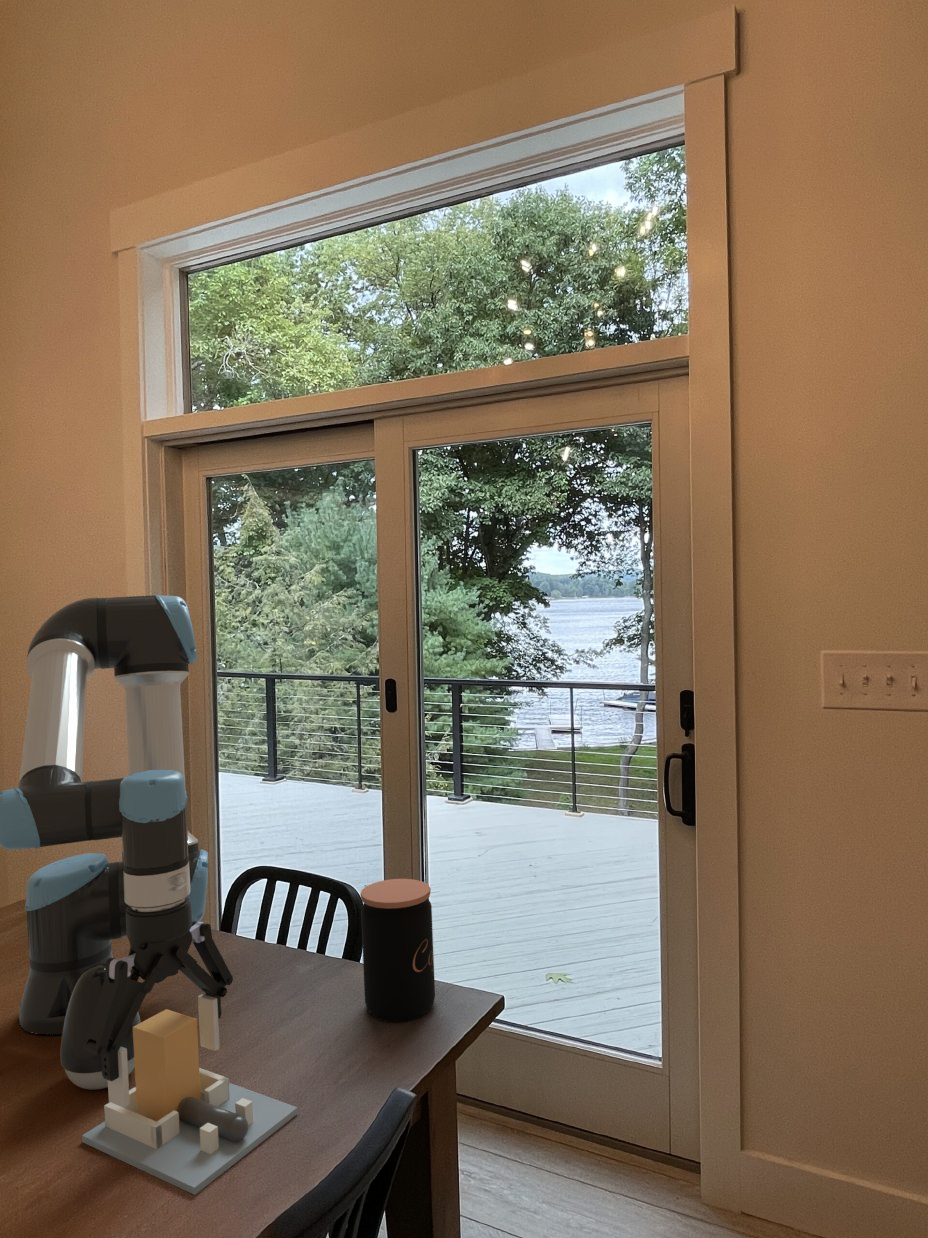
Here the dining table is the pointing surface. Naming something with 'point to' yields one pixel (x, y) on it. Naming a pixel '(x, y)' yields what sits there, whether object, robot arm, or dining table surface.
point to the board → (188, 1134)
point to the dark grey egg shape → (78, 1017)
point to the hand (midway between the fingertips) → (167, 1074)
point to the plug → (176, 1075)
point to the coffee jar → (397, 949)
